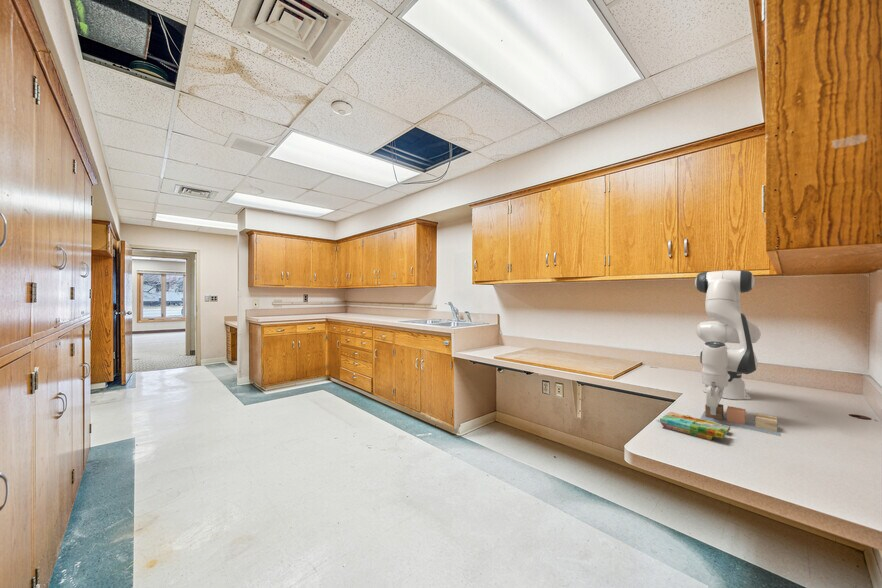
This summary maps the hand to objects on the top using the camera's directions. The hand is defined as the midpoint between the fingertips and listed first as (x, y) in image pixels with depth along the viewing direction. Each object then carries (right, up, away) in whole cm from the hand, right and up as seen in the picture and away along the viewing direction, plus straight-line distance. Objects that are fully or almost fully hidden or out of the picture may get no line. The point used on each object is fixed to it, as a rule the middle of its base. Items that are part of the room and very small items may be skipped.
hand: (714, 412), depth 145 cm
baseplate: (+5, -3, -6) cm, 9 cm away
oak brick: (+11, -2, -11) cm, 16 cm away
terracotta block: (+5, -2, -5) cm, 7 cm away
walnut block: (0, -2, 0) cm, 2 cm away
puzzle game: (-18, -4, -12) cm, 22 cm away
